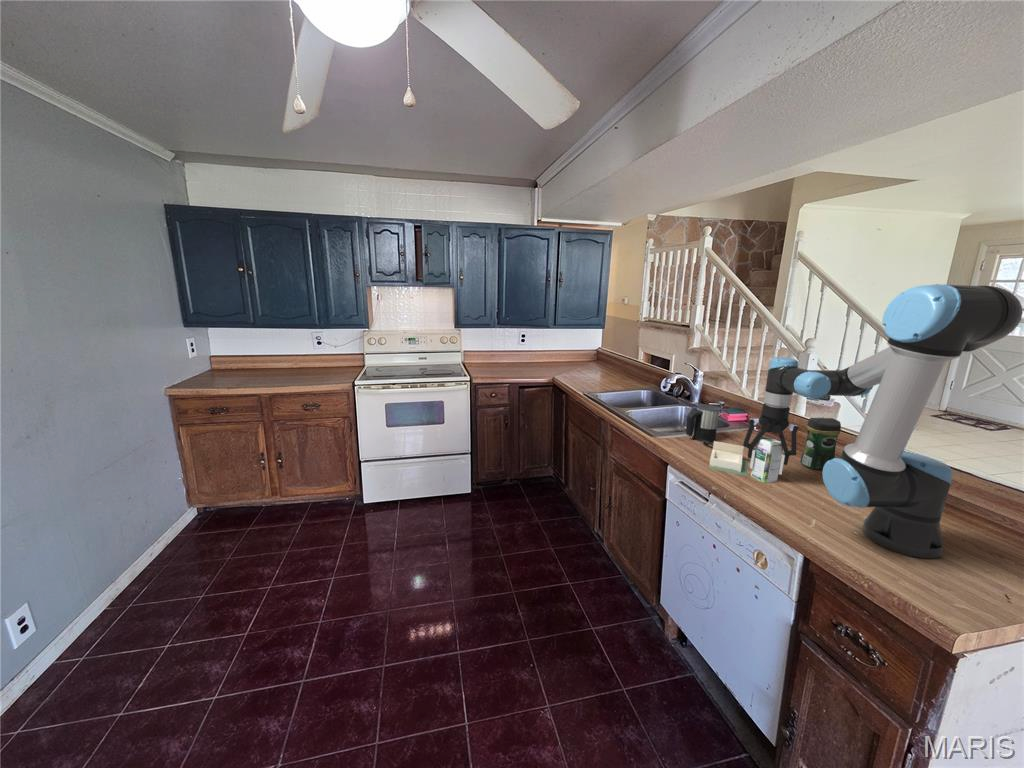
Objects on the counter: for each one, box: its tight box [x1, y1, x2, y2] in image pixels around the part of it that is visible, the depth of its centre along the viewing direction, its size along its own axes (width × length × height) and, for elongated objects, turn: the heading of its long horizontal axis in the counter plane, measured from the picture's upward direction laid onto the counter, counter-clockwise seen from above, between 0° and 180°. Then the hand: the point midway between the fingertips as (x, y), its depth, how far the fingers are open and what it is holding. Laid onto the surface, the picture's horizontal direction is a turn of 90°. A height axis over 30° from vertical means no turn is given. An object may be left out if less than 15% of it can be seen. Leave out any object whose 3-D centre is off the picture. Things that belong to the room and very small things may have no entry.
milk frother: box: [685, 403, 721, 447], centre depth 171 cm, size 14×16×15 cm
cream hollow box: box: [708, 441, 745, 472], centre depth 150 cm, size 11×10×6 cm
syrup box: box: [750, 436, 784, 484], centre depth 138 cm, size 6×6×14 cm
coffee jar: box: [800, 417, 842, 471], centre depth 149 cm, size 10×8×19 cm
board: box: [708, 458, 749, 477], centre depth 150 cm, size 16×12×1 cm
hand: (765, 469), depth 138 cm, fingers closed on syrup box, 8 cm apart
